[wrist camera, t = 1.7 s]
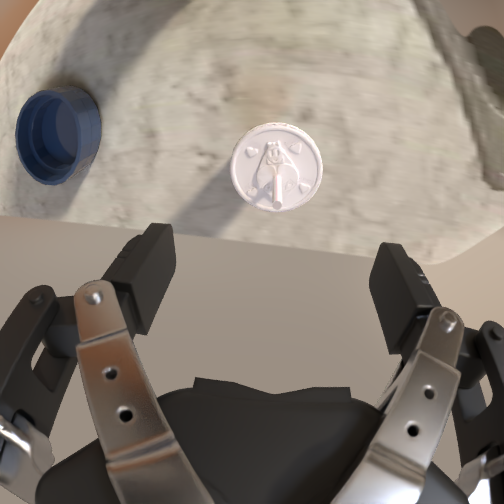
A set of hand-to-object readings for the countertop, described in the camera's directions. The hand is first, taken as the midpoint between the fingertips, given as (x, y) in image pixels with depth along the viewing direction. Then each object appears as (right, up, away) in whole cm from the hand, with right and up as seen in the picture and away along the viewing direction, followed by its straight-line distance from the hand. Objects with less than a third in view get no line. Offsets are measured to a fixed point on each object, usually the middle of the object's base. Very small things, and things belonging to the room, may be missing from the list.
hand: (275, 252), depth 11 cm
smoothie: (+2, +11, +16) cm, 20 cm away
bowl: (-23, +15, +16) cm, 31 cm away
